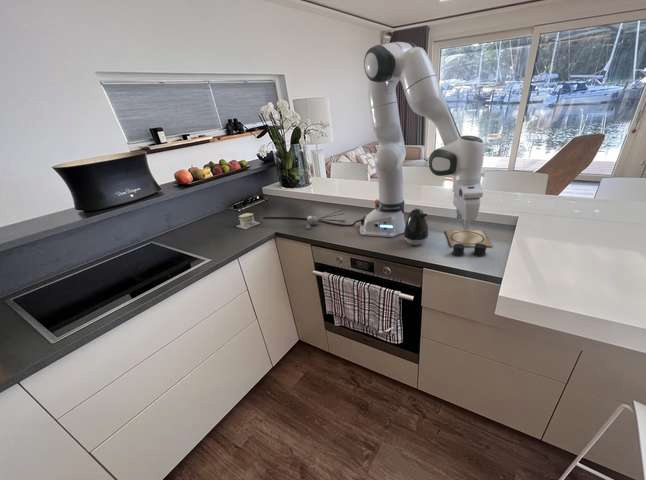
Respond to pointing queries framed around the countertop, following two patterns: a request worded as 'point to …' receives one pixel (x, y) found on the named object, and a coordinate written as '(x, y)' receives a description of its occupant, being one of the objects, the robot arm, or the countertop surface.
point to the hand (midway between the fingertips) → (462, 223)
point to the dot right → (480, 249)
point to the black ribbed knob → (458, 249)
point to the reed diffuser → (313, 220)
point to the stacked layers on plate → (247, 221)
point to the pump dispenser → (416, 227)
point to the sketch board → (467, 238)
